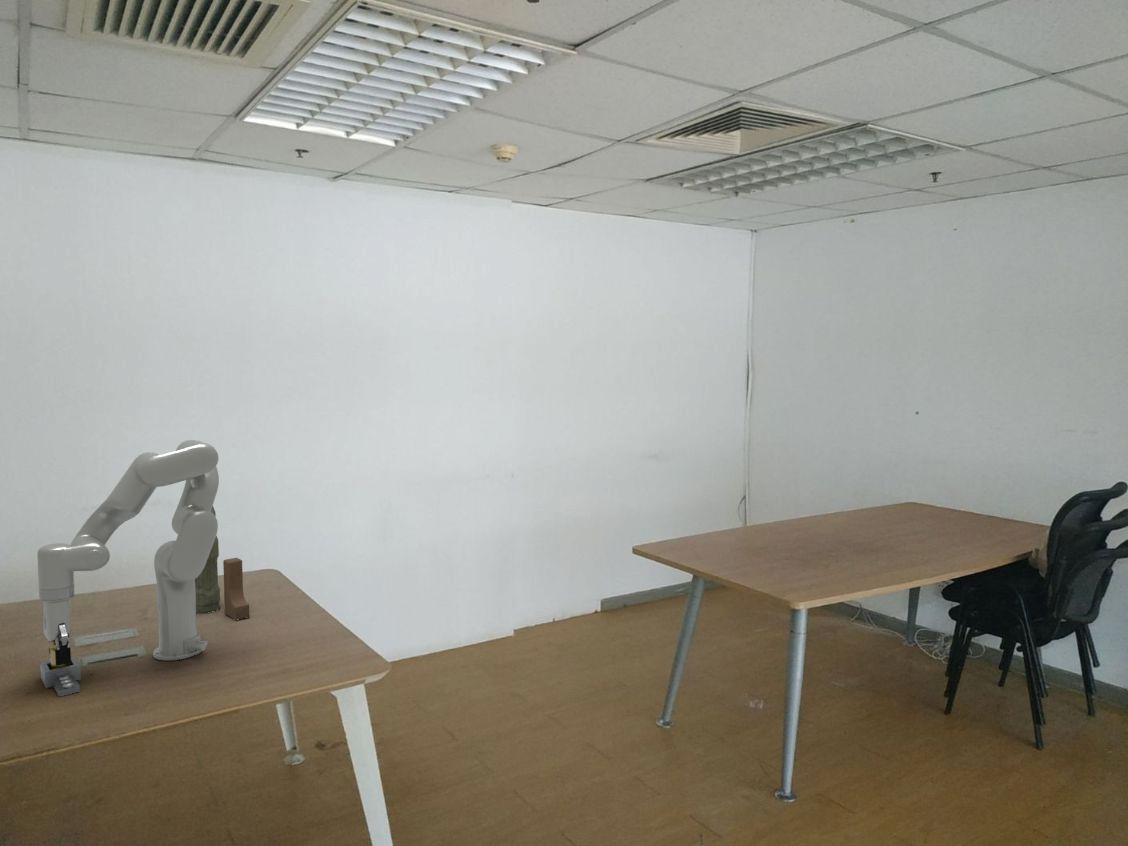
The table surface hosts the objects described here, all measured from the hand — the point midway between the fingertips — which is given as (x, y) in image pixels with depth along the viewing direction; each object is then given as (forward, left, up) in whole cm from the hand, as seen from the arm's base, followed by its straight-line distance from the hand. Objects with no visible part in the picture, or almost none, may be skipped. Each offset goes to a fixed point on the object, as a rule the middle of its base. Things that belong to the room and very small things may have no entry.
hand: (60, 658), depth 197 cm
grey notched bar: (0, 0, -6) cm, 6 cm away
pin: (0, 0, -6) cm, 6 cm away
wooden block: (-12, -54, -6) cm, 56 cm away
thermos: (+2, -57, -6) cm, 57 cm away
